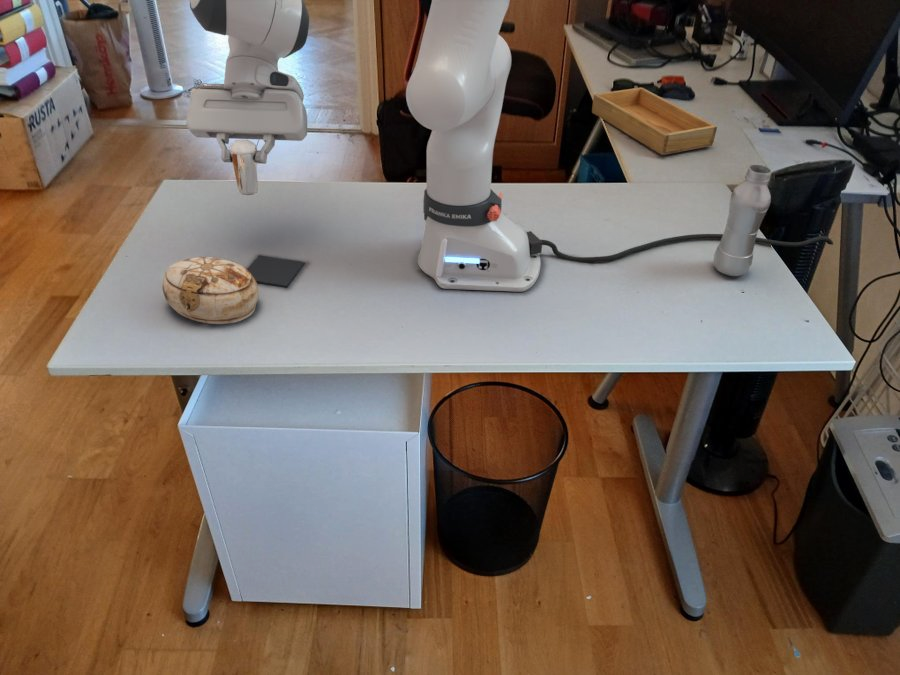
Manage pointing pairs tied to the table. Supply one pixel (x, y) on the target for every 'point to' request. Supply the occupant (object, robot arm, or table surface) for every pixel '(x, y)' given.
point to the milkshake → (245, 166)
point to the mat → (274, 270)
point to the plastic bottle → (743, 222)
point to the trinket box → (210, 290)
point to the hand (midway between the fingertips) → (244, 161)
